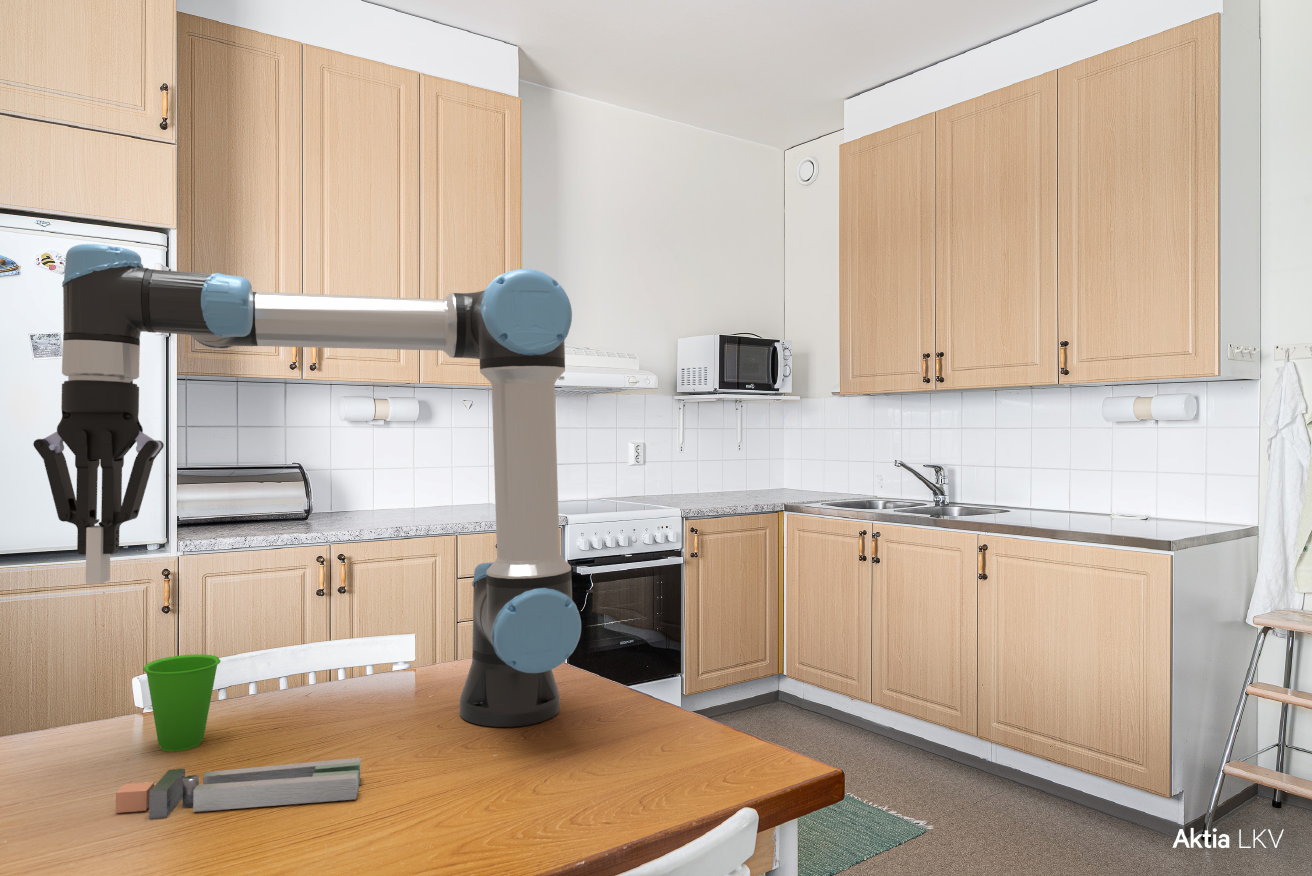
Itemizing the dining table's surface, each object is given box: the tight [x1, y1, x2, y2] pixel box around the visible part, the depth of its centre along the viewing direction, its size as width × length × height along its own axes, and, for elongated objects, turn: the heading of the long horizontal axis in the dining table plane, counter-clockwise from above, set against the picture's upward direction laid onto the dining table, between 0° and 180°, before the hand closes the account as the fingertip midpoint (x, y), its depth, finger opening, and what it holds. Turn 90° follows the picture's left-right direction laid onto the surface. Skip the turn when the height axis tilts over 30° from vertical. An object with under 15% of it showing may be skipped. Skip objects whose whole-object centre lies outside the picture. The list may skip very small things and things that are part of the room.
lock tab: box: [115, 781, 156, 814], centre depth 92 cm, size 3×2×2 cm
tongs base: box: [148, 768, 360, 820], centre depth 95 cm, size 21×6×3 cm, turn 103°
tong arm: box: [202, 757, 362, 786], centre depth 98 cm, size 17×2×2 cm, turn 107°
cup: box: [143, 653, 221, 752], centre depth 111 cm, size 9×9×11 cm
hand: (97, 581), depth 97 cm, fingers closed
